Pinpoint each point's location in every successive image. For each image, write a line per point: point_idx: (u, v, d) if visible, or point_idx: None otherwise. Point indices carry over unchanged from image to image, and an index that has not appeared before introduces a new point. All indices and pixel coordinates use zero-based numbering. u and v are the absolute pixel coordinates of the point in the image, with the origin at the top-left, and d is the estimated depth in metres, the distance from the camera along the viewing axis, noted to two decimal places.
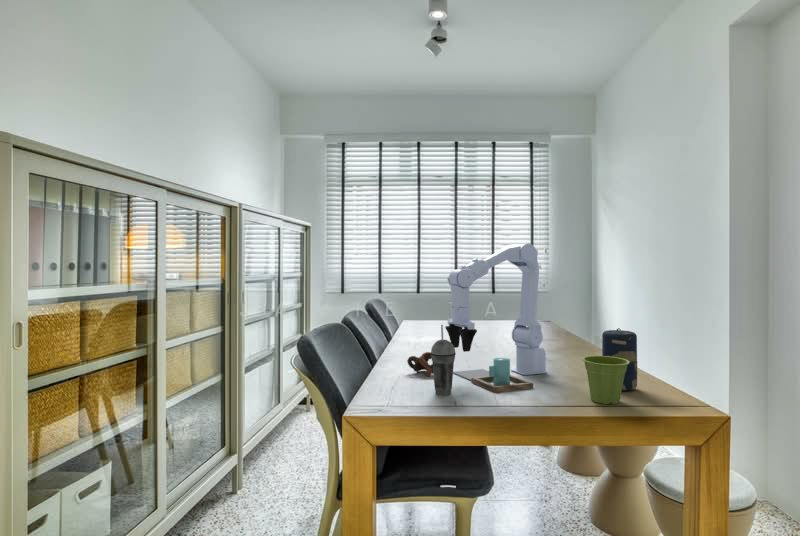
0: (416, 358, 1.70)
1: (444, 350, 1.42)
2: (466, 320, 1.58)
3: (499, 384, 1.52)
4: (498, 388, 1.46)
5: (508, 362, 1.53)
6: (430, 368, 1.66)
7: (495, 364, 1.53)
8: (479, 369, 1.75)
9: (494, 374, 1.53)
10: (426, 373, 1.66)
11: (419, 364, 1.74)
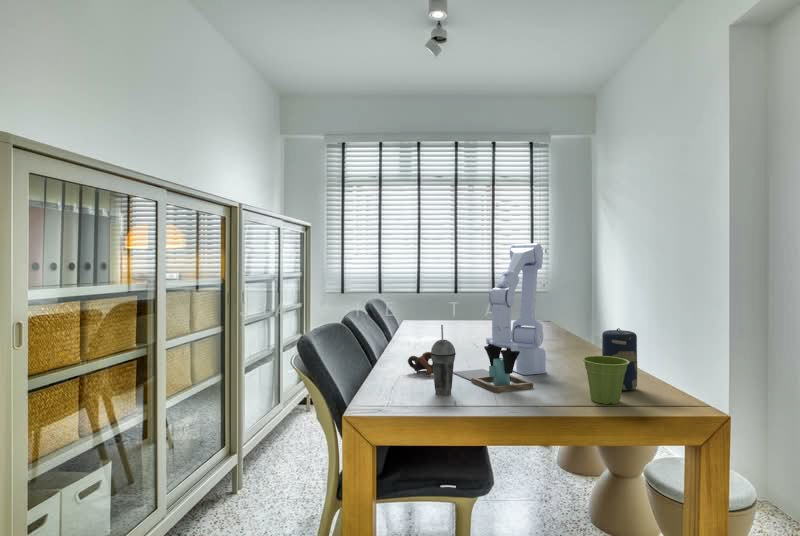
0: (416, 358, 1.71)
1: (444, 350, 1.42)
2: (508, 341, 1.52)
3: (499, 384, 1.52)
4: (498, 388, 1.46)
5: None
6: (430, 368, 1.67)
7: (495, 364, 1.53)
8: (479, 369, 1.75)
9: (494, 374, 1.53)
10: (426, 372, 1.67)
11: (419, 364, 1.74)
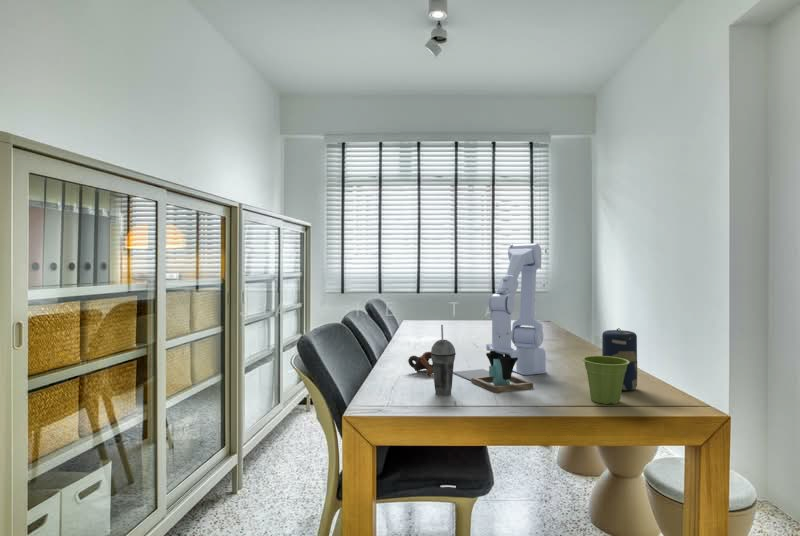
0: (417, 358, 1.71)
1: (444, 350, 1.42)
2: (508, 347, 1.52)
3: (499, 384, 1.52)
4: (498, 388, 1.46)
5: None
6: (431, 367, 1.67)
7: (495, 364, 1.53)
8: (479, 369, 1.75)
9: (494, 374, 1.53)
10: (427, 372, 1.67)
11: (420, 364, 1.75)
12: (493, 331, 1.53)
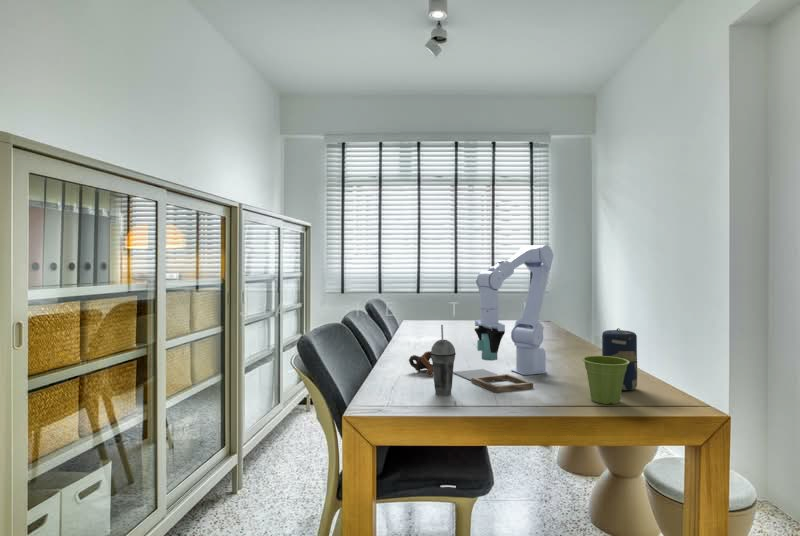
0: (418, 357, 1.72)
1: (444, 350, 1.42)
2: (495, 322, 1.58)
3: (487, 357, 1.59)
4: (498, 388, 1.46)
5: None
6: (432, 367, 1.68)
7: (483, 338, 1.60)
8: (479, 369, 1.75)
9: (482, 348, 1.59)
10: (427, 372, 1.68)
11: (420, 363, 1.75)
12: (480, 306, 1.61)
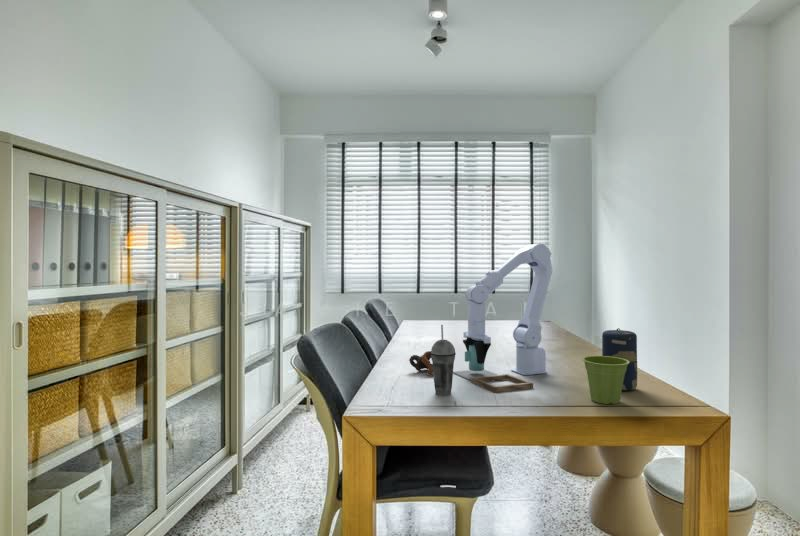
0: (418, 357, 1.72)
1: (444, 350, 1.42)
2: (482, 334, 1.66)
3: (474, 368, 1.66)
4: (498, 388, 1.46)
5: None
6: (432, 367, 1.68)
7: (470, 350, 1.67)
8: None
9: (469, 359, 1.67)
10: (428, 371, 1.68)
11: (421, 363, 1.76)
12: None
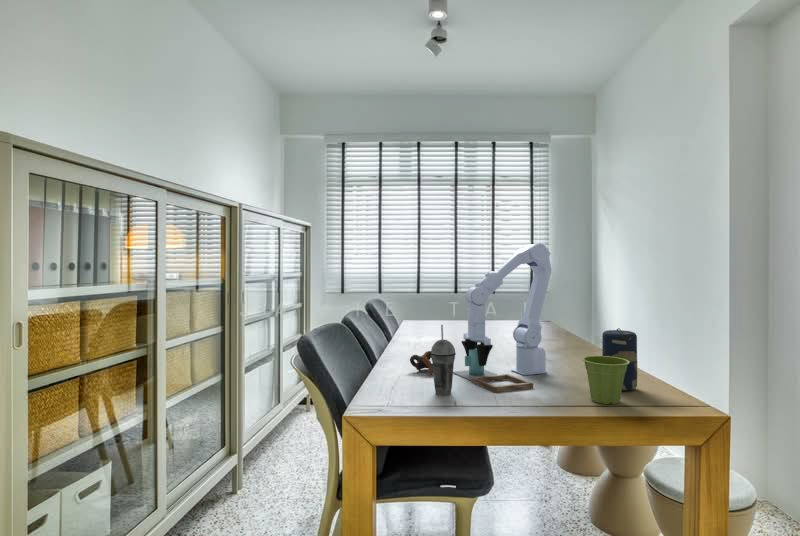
0: (418, 357, 1.73)
1: (444, 350, 1.42)
2: (482, 336, 1.66)
3: (474, 373, 1.66)
4: (498, 388, 1.46)
5: None
6: None
7: (470, 354, 1.67)
8: None
9: (469, 363, 1.67)
10: (428, 371, 1.69)
11: (421, 363, 1.76)
12: None
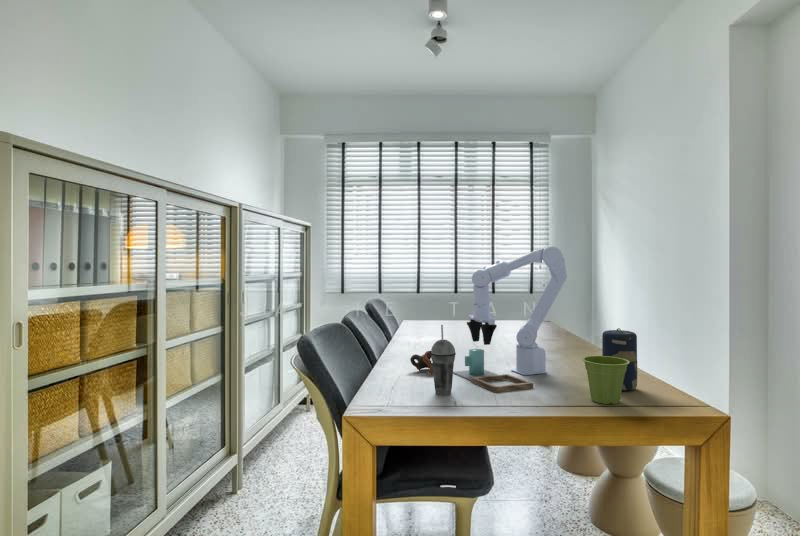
0: (419, 356, 1.73)
1: (444, 350, 1.42)
2: (486, 316, 1.75)
3: (474, 373, 1.66)
4: (498, 388, 1.46)
5: (482, 352, 1.66)
6: None
7: (470, 354, 1.67)
8: None
9: (469, 363, 1.67)
10: (429, 371, 1.69)
11: (421, 362, 1.77)
12: None
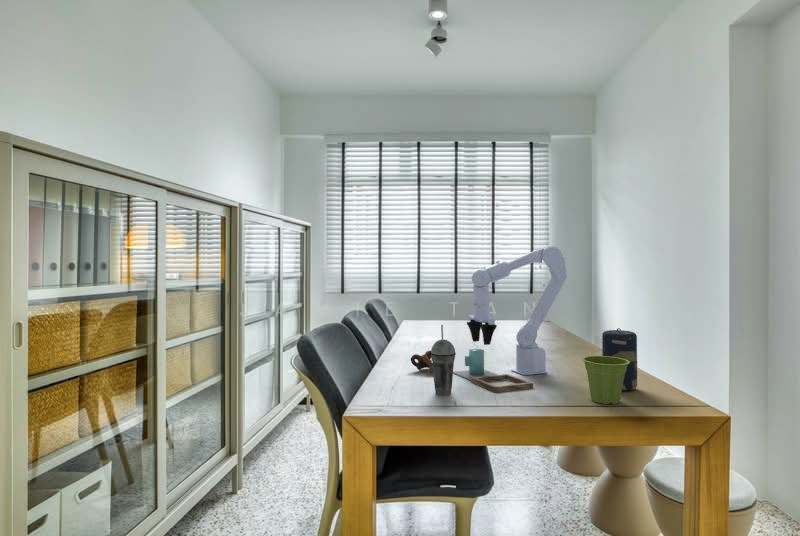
0: (419, 356, 1.74)
1: (444, 350, 1.42)
2: (486, 316, 1.75)
3: (474, 373, 1.66)
4: (498, 388, 1.46)
5: (482, 352, 1.66)
6: None
7: (470, 354, 1.67)
8: None
9: (469, 363, 1.67)
10: (429, 370, 1.70)
11: (422, 362, 1.77)
12: None
